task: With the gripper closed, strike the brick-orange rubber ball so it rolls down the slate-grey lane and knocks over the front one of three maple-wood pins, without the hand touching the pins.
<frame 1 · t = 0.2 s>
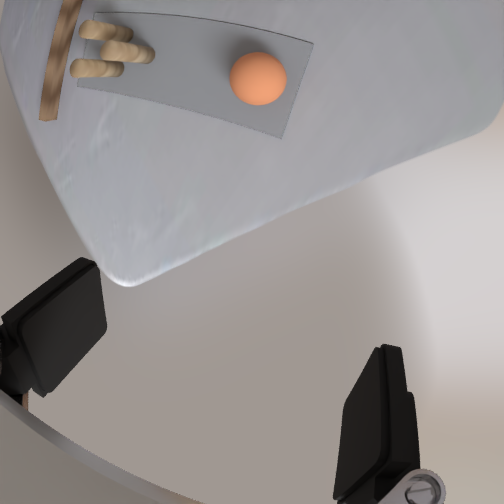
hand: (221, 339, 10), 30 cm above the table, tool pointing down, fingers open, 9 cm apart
pin 1: (127, 35, 33), on the table
lane: (173, 59, 34), on the table
brown wooden bar: (65, 48, 36), on the table
pin 2: (118, 69, 36), on the table
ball: (258, 78, 30), on the table
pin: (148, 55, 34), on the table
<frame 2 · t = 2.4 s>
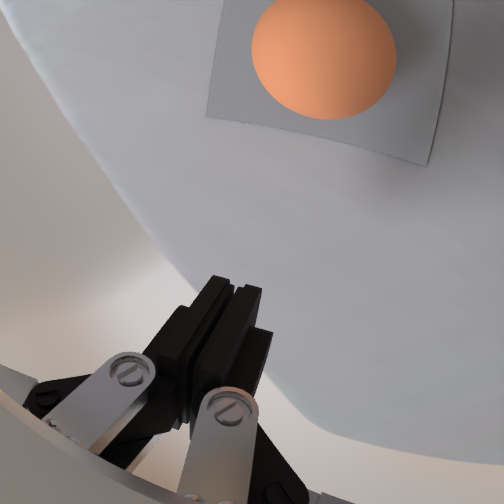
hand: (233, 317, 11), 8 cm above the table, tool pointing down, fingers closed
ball: (324, 52, 11), on the table
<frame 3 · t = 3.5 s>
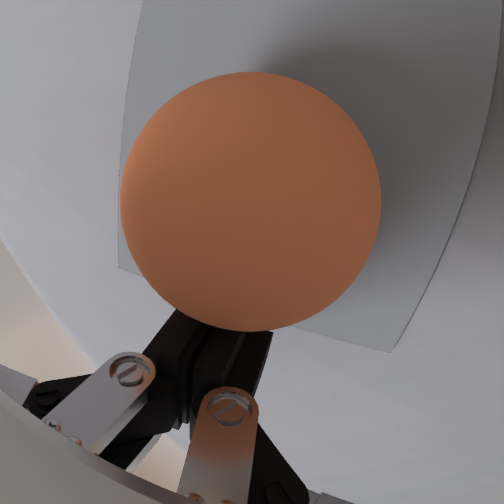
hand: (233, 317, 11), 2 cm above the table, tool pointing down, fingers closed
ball: (250, 200, 8), on the table
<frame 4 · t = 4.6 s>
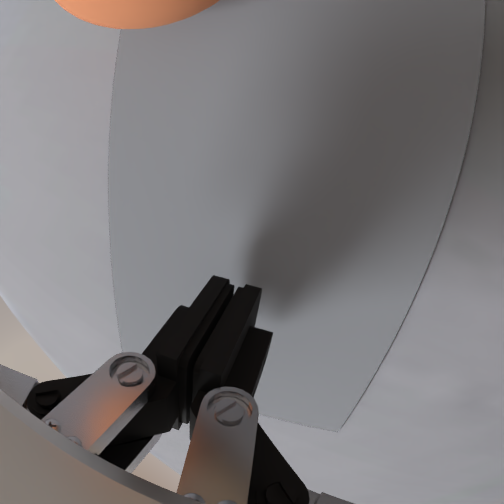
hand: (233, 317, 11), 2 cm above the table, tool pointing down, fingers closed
lane: (287, 40, 8), on the table
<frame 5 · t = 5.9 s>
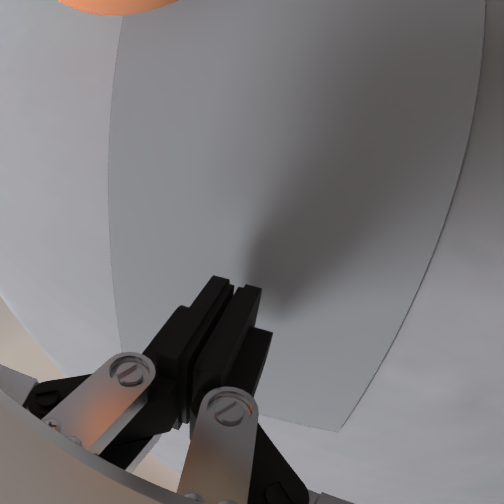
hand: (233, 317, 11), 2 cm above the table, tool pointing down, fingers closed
lane: (287, 40, 8), on the table
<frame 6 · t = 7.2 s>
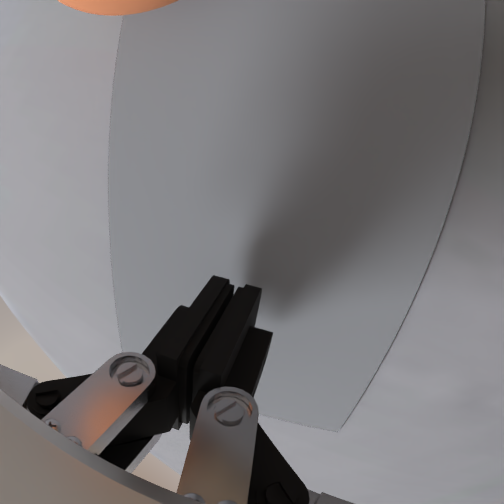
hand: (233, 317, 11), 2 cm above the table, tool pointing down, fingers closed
lane: (287, 40, 8), on the table
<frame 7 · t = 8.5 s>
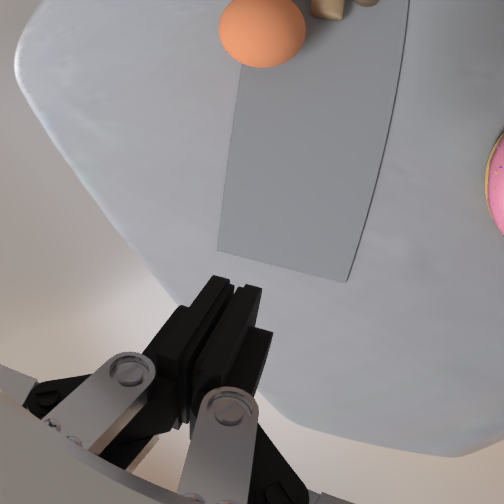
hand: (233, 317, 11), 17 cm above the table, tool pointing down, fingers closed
lane: (317, 82, 22), on the table
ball: (262, 28, 18), on the table
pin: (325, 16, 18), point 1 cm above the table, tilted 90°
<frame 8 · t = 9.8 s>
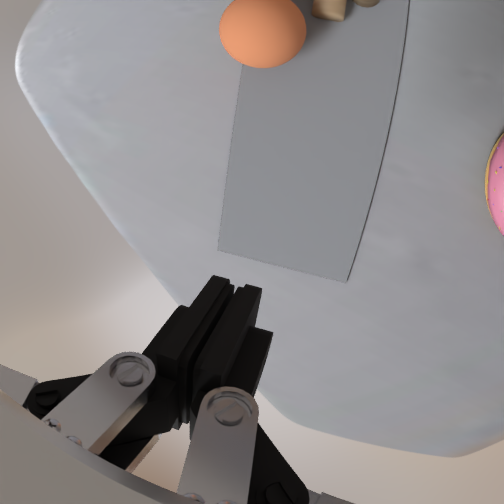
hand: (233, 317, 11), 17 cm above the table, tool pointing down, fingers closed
lane: (317, 83, 22), on the table
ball: (262, 29, 18), on the table
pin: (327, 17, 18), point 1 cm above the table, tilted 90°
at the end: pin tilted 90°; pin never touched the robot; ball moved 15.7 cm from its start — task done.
